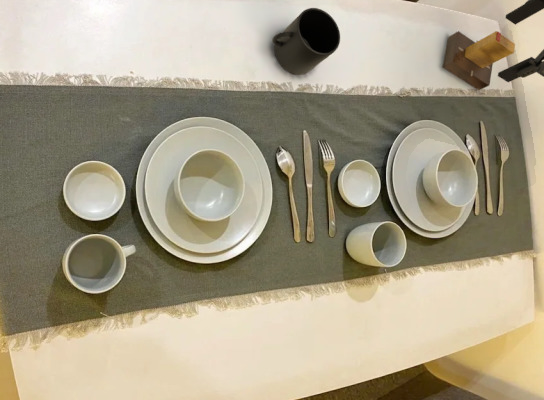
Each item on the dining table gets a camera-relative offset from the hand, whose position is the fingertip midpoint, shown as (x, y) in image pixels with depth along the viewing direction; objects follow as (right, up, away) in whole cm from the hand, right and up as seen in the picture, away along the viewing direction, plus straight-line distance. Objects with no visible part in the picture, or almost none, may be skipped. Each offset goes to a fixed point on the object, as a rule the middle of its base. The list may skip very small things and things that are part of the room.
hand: (506, 48), depth 91 cm
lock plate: (+4, +4, +24) cm, 25 cm away
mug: (-41, +1, +5) cm, 42 cm away
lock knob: (+5, +5, +22) cm, 23 cm away
